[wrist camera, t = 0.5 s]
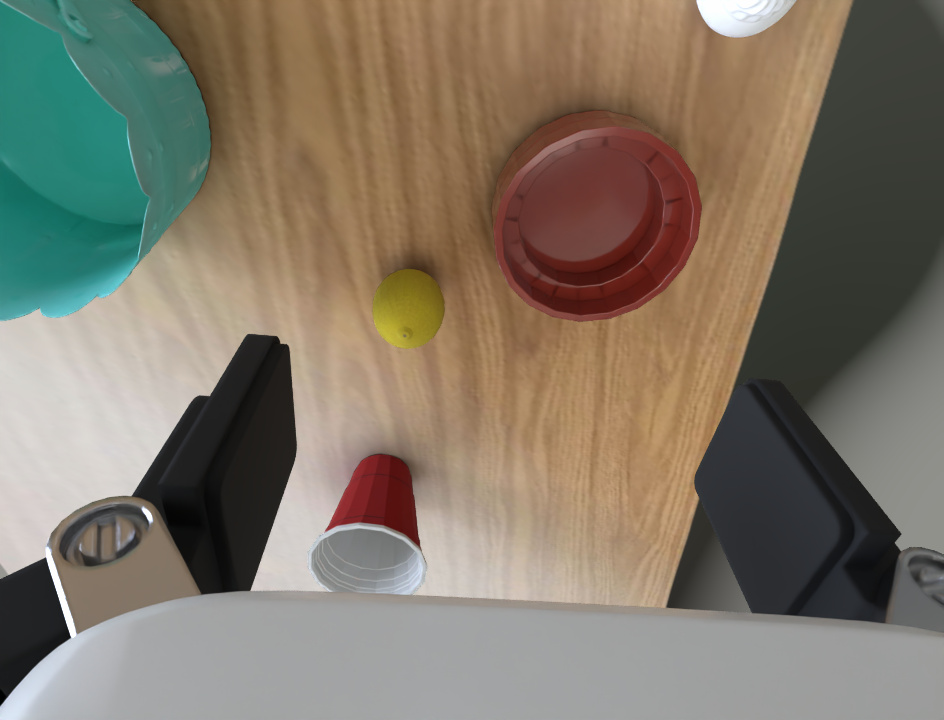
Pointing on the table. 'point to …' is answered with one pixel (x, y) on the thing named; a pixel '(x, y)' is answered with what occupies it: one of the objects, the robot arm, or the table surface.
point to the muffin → (742, 15)
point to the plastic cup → (372, 534)
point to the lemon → (408, 308)
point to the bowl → (594, 216)
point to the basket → (89, 148)
